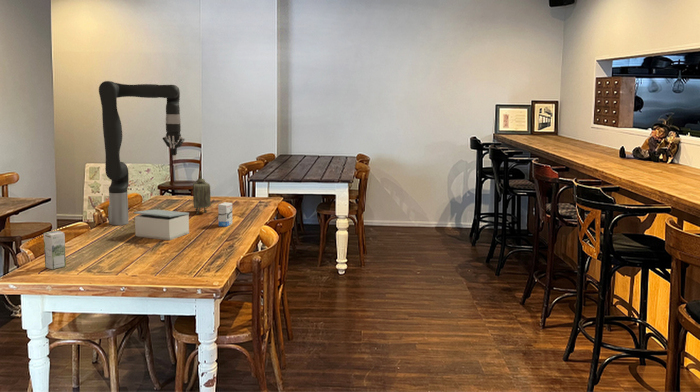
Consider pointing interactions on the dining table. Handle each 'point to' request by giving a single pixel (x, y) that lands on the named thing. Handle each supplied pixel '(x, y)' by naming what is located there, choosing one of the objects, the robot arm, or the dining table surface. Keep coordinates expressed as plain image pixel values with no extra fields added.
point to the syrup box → (54, 249)
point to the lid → (161, 213)
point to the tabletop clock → (201, 194)
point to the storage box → (161, 226)
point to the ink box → (225, 214)
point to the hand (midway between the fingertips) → (173, 155)
